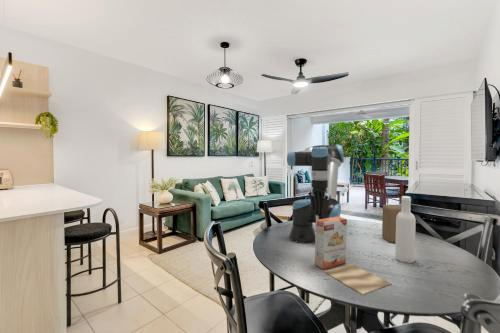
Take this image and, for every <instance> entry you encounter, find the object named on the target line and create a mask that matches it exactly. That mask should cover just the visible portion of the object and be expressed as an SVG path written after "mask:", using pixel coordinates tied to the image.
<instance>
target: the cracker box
mask: <svg viewBox="0 0 500 333" xmlns="http://www.w3.org/2000/svg"><path fill="white" fill-rule="evenodd" d="M347 224H348V220H347V218H345V217H341V216H340V217H338V216H337V217H331V218H324V219H318V220H316V223H315V241H314V242H315V243H314V248H315V249H314V265H315V266H316V267H319V268H321V269H322V270H328V269H330V268H333V267H336V266H337V267H338V266H340V265H344V264H346V261H347V260H346V258H347V256H346V255H347V229H348V228H347V226H348V225H347Z"/></svg>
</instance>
